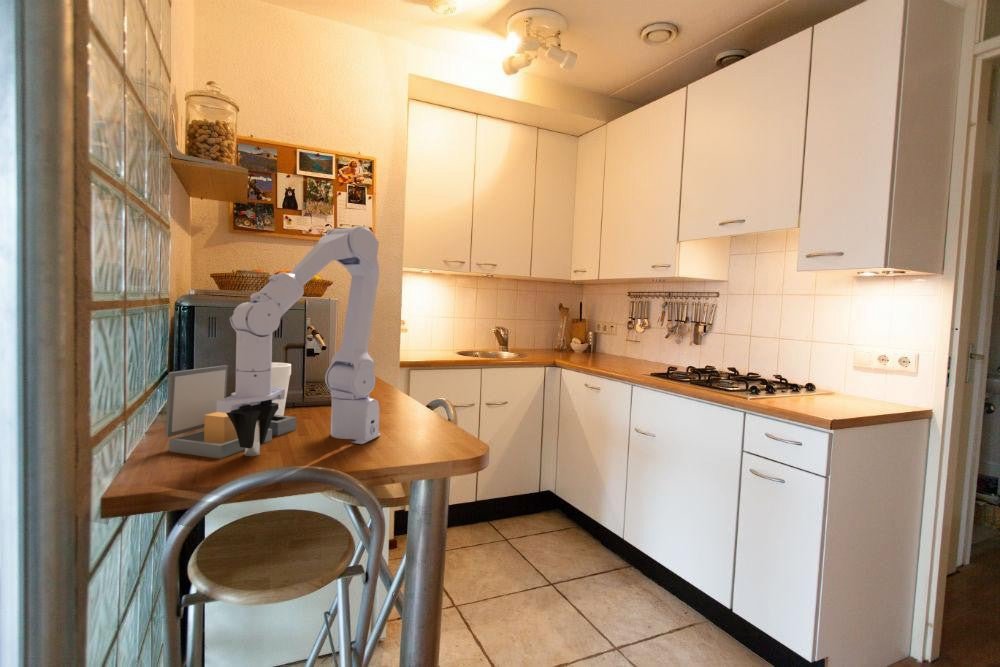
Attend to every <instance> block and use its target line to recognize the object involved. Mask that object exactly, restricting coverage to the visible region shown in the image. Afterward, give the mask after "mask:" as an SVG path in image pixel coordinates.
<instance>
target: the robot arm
mask: <svg viewBox="0 0 1000 667" xmlns="http://www.w3.org/2000/svg"><path fill="white" fill-rule="evenodd" d="M379 245H380V242H379V240H378V239H377V237H376V236H375V234H374V233H373V231H372V230H371V229H370V228H369V227H367V226H364V225H359V226H356V227H355V226H354V227H346V228H345V227H343V228H339V227H338V228H332V229H330V230H328V231H327V233H326V234H324V235H322V236H321V237H319V240H318V242H317V243H316V244H315V245H314V246H313V247H312V248H311V250H310V251H309V252H307V254H306V255H305V256H303V258H302V259H301V260H300V261H299V262H298V263H297V264H296V265H295V266H294V267H293V268H292V269H291V270H290V272H289V273H287V272H279V273H276V274H271V275H270V276H269V277H268V280H269V282H267V283H266V284H265V285H264V286H263V287H262V288H261V289H260V290H259V291H258V292H257V293H256V292H255V293H252V294H251V295H250V301H249V302H248V301H246V302H242V303H240V304H239V305H237V306H236V307H235V308H234V310H233V314H232V316H230V317H229V322H230V325H231V327H232V328H233V330H234V331H235V333H236V343H235V344H236V345H235V347H236V348H235V392H232V393H230V394H231V395H230V396H226V398H225V399H222V400H218V401H217V412H222V413H226V414H227V415H228V417H229V418H230V420H231V421H232V423H233V425H234V428H235V430H236V433H237V437H238V440H239V444H240V447H242V448H252V447H253V443H254V435H255V427H256V423H257V419H260V445H263V444H265V443H264V442H265V438H266V435H267V431H268V428H269V425H270V423H271V420H272V418H273V416H274V414H275V413H276V411H277V410H278V405H279V404H278V403H272V401H273V400H277V399H280V400H281V399H284V398H285V389H280V388H274V389H271V371H272V370H271V368H272V363H273V359H272V357H273V333H274V332H275V331H278V328H279V326H280V322H281V317H283V315H285V313H286V312H288V311H289V310H290V309H291V308H292V306H293V305H295V304H296V303H297V302H298V301H299V300H300V298H302V297H303V296H304V294H305V293H304V290H305V289H304V286H305V285H306V284H307V283H308V282H309V281H311V280H312V279H313V278H314V277H316V275H317V274H319V273H320V272H321V271H322V270H323V269H324V268H326V267H327V266H328V265H329V264H330V263H332V262H333V261H336V262H338V264H340V265H341V266H342V267H344V268H345V269H346V270H347V272H348V273H349V274H350V276H351V282H350V286H349V292H348V299H347V307H346V311H345V312H346V314H345V318H344V323H343V324H344V326H343V332H342V337H341V344H340V349H339V350H337V352H335V354H334V355H333V356H332V358H331V362H330V365H329V367H328V368H327V370H326V372H325V376H324V381H325V385H326V387H327V388H328V389H329V390H330V395H331V413H330V415H331V416H330V420H331V421H330V436H331V437H332V438H335V439H340V440H341V439H343V440H344V439H345V440H352V441H350V442H349V444H355V445H357V444H358V445H364V444H366V443H368V442H370V441H372V440H374V439H377V438H378V437H380V436H381V433H380V430H379V429H380V404H379V401H378V400H377V399H376V398H371V397H370V394H371V393H372V391H373V390H374V388H375V385H376V374H375V361H374V360H373V358H372V356H370V354H369V353H368V350H369V342H370V336H371V330H372V322H373V316H374V310H375V304H376V297H377V290H378V285H379V280H380V278H379V277H380V266H379V259H378V252H379Z"/></svg>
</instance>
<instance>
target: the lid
mask: <svg viewBox="0 0 1000 667" xmlns="http://www.w3.org/2000/svg"><path fill="white" fill-rule="evenodd" d="M228 368H229V366H228V365H225V364H224V365H217V366H209V367H201V368H200V367H199V368H193V369H185V370H176V371H170V372H168V379H167V399H166V400H167V401H166V411H165V412H166V416H165V430H164V431H165V433H164V434H165V435H164V437H165V438H170V437H171V438H172V437H173V436H177V435H178V436H179V435H182V434H185V433H186V434H187V433H188V432H189V433H190V432H194V431H196V430H200V429H204V417H205V415H207V414H211V413H215V412H217V401H218V400H222V399H225V398H227V384H228V383H227V382H228V370H229V369H228Z"/></svg>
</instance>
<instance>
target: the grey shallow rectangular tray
mask: <svg viewBox="0 0 1000 667" xmlns="http://www.w3.org/2000/svg"><path fill="white" fill-rule="evenodd" d="M168 441H169V442H168V444H169V445H168V452H170V453H177V454H184V455H186V454H187V455H191V456H192V455H193V456H199V457H206V458H212V459H213V458H214V459H221V460H222V459H224V458H226V457H228V456H229V457H230V456H232V455H235V454H237V453H240V452H243V451H244V452H245V448H242V447H240V444H239V440H238V439H235V440H232V441H229V442H226V443H223V444H216V443H208V442H204V429H201V430H198V431H192V432H191V433H190V432H189V433H186V434H183V435H182V434H181V435H178V436H175V437H173V438H172V437H171V438H168ZM272 441H273V436H272V429H268V431H267V435H266V438H265V442H264V443H263V444H266V443H268V442H272Z"/></svg>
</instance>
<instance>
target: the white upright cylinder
mask: <svg viewBox="0 0 1000 667" xmlns="http://www.w3.org/2000/svg"><path fill="white" fill-rule="evenodd" d="M260 447H261V444H260V419H257V423H256V427H255V435H254V443H253V447H252V448H245V450H244V456H245V457H256V456H258V455H260V454H261V453H260V449H261V448H260Z"/></svg>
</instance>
